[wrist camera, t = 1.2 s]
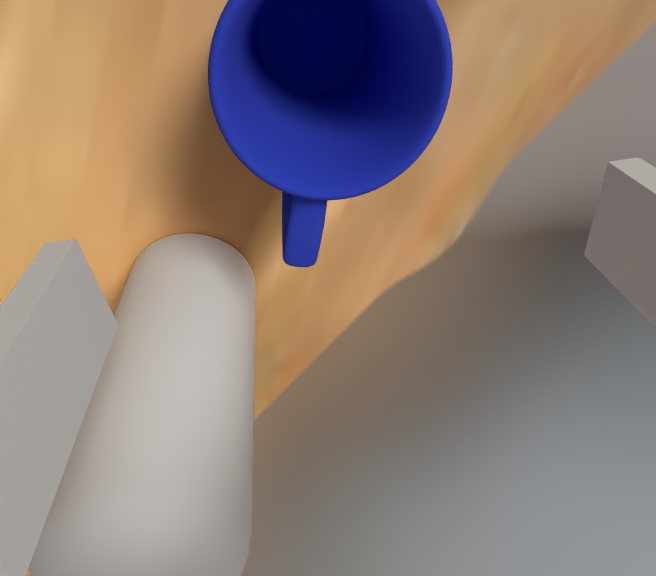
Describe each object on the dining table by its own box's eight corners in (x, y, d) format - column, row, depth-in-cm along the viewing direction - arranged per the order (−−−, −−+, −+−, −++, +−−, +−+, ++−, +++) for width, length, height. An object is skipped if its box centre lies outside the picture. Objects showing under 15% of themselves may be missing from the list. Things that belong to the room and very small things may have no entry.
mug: (219, 174, 28) (202, 274, 20) (230, -86, 21) (211, -90, 13) (357, 190, 29) (391, 289, 22) (410, -47, 22) (491, -30, 15)
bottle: (261, 324, 35) (259, 1172, 11) (147, 333, 34) (-109, 1252, 11) (249, 226, 30) (199, 1363, 6) (116, 235, 30) (-489, 1529, 6)
